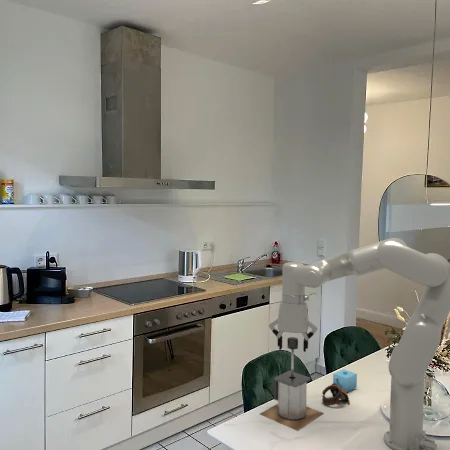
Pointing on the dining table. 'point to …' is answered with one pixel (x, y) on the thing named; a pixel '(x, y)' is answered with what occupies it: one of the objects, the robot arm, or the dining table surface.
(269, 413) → the walnut board
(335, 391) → the brown curved piece
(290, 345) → the plunger
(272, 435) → the dining table surface
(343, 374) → the blue square teapot
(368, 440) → the dining table surface
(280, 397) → the press carafe
